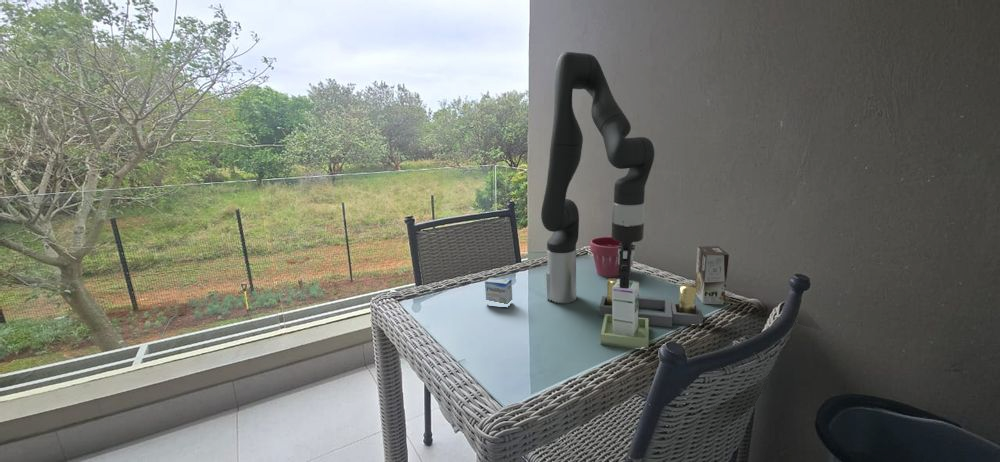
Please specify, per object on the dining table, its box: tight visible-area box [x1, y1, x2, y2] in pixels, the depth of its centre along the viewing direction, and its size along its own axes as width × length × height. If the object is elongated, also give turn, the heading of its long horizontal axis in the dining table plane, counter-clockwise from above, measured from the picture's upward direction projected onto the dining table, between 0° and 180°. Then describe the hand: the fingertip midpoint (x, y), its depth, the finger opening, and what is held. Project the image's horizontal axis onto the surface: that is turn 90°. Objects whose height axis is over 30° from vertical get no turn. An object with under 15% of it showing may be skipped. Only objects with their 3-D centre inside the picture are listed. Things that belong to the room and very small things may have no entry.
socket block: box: [599, 295, 704, 328], centre depth 113 cm, size 28×12×3 cm, turn 69°
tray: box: [600, 314, 650, 350], centre depth 102 cm, size 12×12×3 cm
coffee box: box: [694, 245, 730, 305], centre depth 119 cm, size 9×6×16 cm
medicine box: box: [484, 277, 513, 304], centre depth 125 cm, size 8×4×9 cm, turn 68°
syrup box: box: [612, 278, 640, 337], centre depth 100 cm, size 6×6×14 cm
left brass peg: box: [606, 277, 618, 306], centre depth 115 cm, size 4×4×10 cm
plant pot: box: [589, 236, 622, 278], centre depth 145 cm, size 14×14×13 cm
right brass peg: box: [678, 283, 696, 314], centre depth 108 cm, size 4×4×10 cm
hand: (625, 281), depth 98 cm, fingers open, 8 cm apart
